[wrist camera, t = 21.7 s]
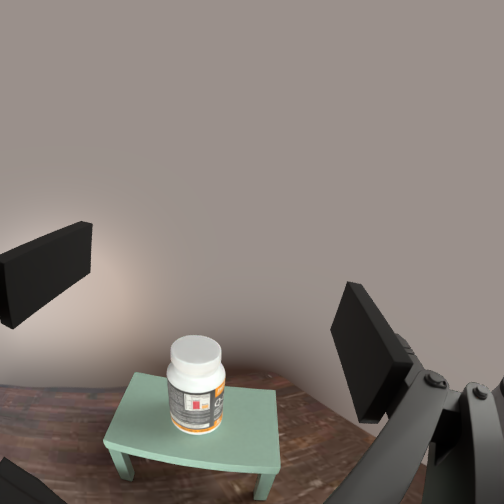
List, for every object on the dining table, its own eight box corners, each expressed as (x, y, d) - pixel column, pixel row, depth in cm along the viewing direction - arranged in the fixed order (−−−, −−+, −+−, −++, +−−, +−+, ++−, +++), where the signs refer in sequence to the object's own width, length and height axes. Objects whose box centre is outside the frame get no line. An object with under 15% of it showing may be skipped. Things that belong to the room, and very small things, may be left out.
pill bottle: (227, 434, 28) (234, 366, 25) (173, 438, 26) (166, 369, 23) (216, 398, 33) (221, 330, 30) (168, 401, 32) (163, 332, 28)
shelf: (265, 432, 39) (275, 390, 36) (267, 501, 27) (280, 467, 24) (142, 415, 38) (135, 371, 35) (119, 479, 27) (102, 440, 24)
